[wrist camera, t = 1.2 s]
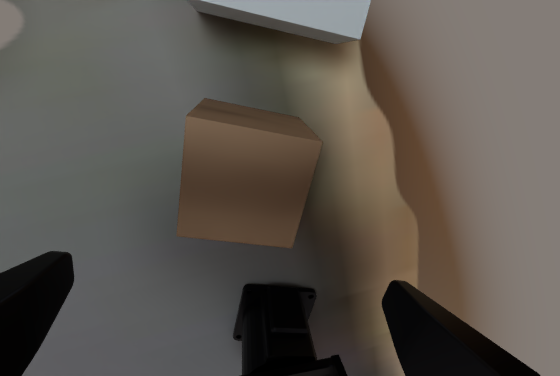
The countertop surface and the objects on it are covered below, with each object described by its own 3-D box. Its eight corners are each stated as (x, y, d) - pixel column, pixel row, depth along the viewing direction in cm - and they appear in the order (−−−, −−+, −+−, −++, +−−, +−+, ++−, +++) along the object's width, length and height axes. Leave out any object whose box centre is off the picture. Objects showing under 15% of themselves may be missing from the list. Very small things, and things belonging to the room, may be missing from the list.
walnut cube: (279, 197, 20) (292, 248, 15) (195, 185, 19) (176, 236, 13) (298, 117, 18) (322, 142, 12) (205, 97, 16) (186, 115, 11)
